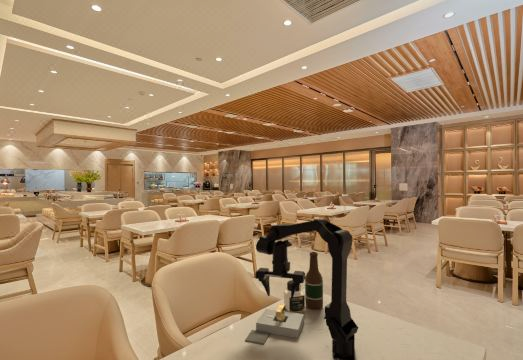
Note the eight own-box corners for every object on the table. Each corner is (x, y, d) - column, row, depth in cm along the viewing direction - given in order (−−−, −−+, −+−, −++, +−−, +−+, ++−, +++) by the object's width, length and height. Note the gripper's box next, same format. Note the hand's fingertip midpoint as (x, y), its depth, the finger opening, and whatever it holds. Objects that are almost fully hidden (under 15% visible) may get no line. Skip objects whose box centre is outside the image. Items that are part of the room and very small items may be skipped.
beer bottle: (323, 311, 120) (322, 255, 120) (304, 309, 121) (304, 254, 121) (322, 303, 127) (322, 250, 128) (305, 301, 129) (305, 250, 129)
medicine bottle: (289, 313, 118) (289, 285, 118) (283, 306, 125) (283, 279, 125) (305, 311, 120) (304, 283, 120) (298, 304, 127) (298, 277, 127)
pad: (269, 333, 102) (269, 332, 102) (263, 344, 96) (263, 343, 96) (251, 330, 104) (251, 329, 104) (244, 341, 98) (244, 339, 98)
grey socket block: (303, 321, 111) (303, 313, 111) (298, 337, 99) (298, 329, 99) (265, 315, 116) (265, 308, 116) (256, 330, 104) (256, 322, 104)
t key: (286, 322, 110) (286, 304, 111) (282, 331, 104) (282, 312, 104) (279, 321, 111) (278, 303, 112) (274, 330, 105) (274, 311, 105)
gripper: (307, 253, 112) (307, 292, 112) (263, 250, 118) (263, 287, 118) (302, 260, 102) (303, 303, 102) (254, 257, 108) (255, 297, 107)
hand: (280, 297), depth 108 cm, fingers open, 9 cm apart
